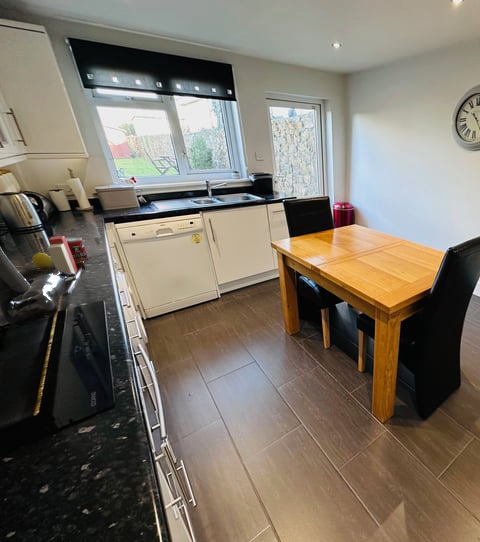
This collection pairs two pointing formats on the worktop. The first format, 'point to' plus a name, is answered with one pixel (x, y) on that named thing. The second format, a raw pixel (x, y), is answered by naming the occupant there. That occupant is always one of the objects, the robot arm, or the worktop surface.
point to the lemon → (42, 260)
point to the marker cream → (60, 258)
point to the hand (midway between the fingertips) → (58, 272)
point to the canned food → (77, 249)
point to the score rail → (80, 268)
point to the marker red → (63, 240)
